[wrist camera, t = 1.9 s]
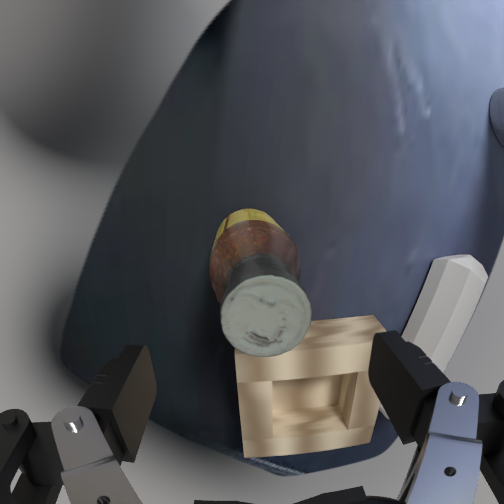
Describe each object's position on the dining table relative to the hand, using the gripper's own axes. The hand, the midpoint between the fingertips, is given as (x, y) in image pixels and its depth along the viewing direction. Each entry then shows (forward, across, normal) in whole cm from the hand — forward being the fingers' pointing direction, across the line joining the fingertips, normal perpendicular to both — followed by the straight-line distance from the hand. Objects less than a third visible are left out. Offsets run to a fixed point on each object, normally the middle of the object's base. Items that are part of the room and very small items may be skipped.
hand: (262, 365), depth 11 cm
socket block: (+23, -6, +18) cm, 30 cm away
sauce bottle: (+23, 0, 0) cm, 23 cm away
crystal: (+23, -22, +14) cm, 35 cm away
